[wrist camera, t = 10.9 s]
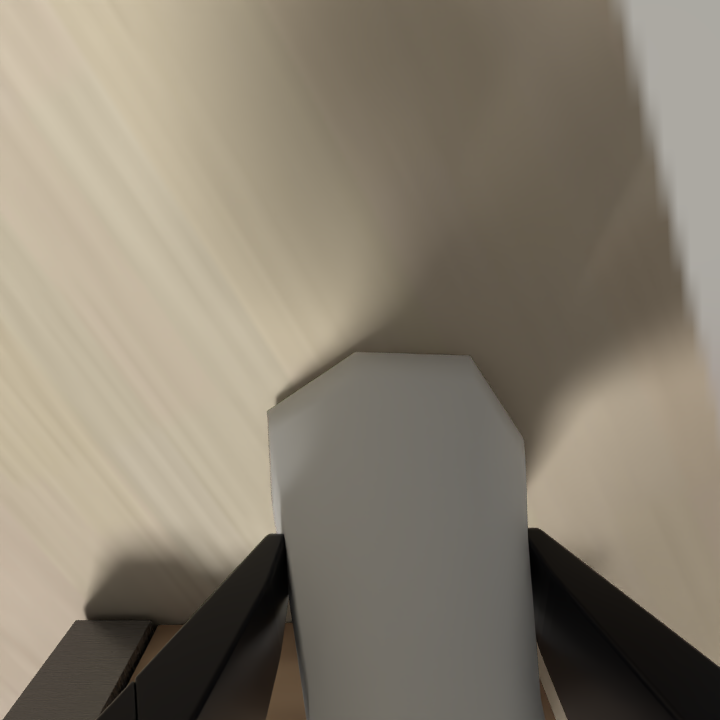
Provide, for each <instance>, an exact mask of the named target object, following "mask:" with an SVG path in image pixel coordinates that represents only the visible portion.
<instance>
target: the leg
mask: <svg viewBox="0 0 720 720" xmlns="http://www.w3.org/2000/svg"><path fill="white" fill-rule="evenodd" d="M153 635H154V632H153V628H152V624H151V621H129V620H76V621H75V622H74V624H73V625H72V626H71V628H70V629H69V630H68V632H67V633H66V634H65V636H64V637H63V639H62V640H61V641H60V643H59V644H58V645H57V647H56V648H55V649H54V651H53V652H52V653H51V655H50V656H49V658H48V659H47V660H46V662H45V663H44V664H43V666H42V667H41V668H40V670H39V671H38V672H37V674H36V675H35V677H34V678H33V679H32V681H31V682H30V683H29V685H28V686H27V687H26V689H25V690H24V691H23V693H22V694H21V696H20V697H19V698H18V700H17V701H16V702H15V704H14V705H13V706H12V708H11V709H10V711H9V712H8V713H7V715H6V716H5V717H4V719H3V720H96V718H97V717H98V716H99V715H100V714H101V713H102V712H103V711H104V710H105V709H106V708H107V707H108V706H109V705H110V704H111V703H112V702H113V701H114V700H115V699H116V697H117V696H118V695H119V694H120V693H121V692H122V691H123V690H124V689H125V688H126V687H127V685H128V683H129V681H130V679H131V677H132V675H133V673H134V671H135V669H136V667H137V665H138V664H139V662H140V660H141V658H142V656H143V654H144V652H145V650H146V648H147V646H148V644H149V642H150V640H151V639H152V637H153Z"/></svg>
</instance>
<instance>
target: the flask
mask: <svg viewBox="0 0 720 720" xmlns="http://www.w3.org/2000/svg"><path fill="white" fill-rule="evenodd" d="M267 417H268V437H269V457H270V477H271V497H272V507H273V514H274V521H275V526H276V532H277V534H281V533H283V534H284V537H285V547H286V563H287V579H288V595H289V602H290V609H291V615H292V622H293V629H294V636H295V643H296V650H297V657H298V664H299V671H300V678H301V685H302V692H303V699H304V706H305V713H306V720H545V716H544V711H543V707H542V702H541V695H540V682H539V670H538V657H537V645H536V632H535V620H534V607H533V595H532V582H531V570H530V557H529V545H528V521H527V489H526V460H525V448H524V438H523V437H522V435H521V434H520V432H519V431H518V429H517V428H516V426H515V424H514V423H513V421H512V420H511V418H510V417H509V415H508V414H507V412H506V411H505V409H504V407H503V406H502V404H501V403H500V401H499V400H498V398H497V397H496V395H495V394H494V392H493V390H492V389H491V387H490V386H489V384H488V383H487V381H486V380H485V378H484V377H483V375H482V374H481V372H480V370H479V369H478V367H477V366H476V364H475V363H474V361H473V360H472V358H471V357H470V356H468V355H438V354H407V353H376V352H354V353H353V354H351V355H350V356H348V357H347V358H345V359H344V360H343V361H341V362H340V363H338V364H337V365H335V366H334V367H332V368H331V369H329V370H328V371H326V372H325V373H323V374H322V375H320V376H319V377H317V378H316V379H314V380H313V381H311V382H310V383H308V384H307V385H305V386H304V387H302V388H301V389H299V390H298V391H296V392H295V393H293V394H292V395H290V396H289V397H287V398H286V399H284V400H283V401H281V402H280V403H278V404H277V405H275V406H274V407H272V408H271V409H269V410H268V411H267Z"/></svg>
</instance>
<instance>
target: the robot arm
mask: <svg viewBox="0 0 720 720" xmlns="http://www.w3.org/2000/svg"><path fill="white" fill-rule="evenodd" d="M528 545H529V557H530V570H531V582H532V595H533V607H534V620H535V632H536V640H537V643H538V646H539V649H540V652H541V655H542V657H543V660H544V663H545V665H546V668H547V670H548V673H549V675H550V678H551V680H552V682H553V685H554V687H555V690H556V692H557V695H558V697H559V700H560V702H561V705H562V707H563V710H564V712H565V714H566V717H567V719H568V720H720V667H719V666H718V665H716V664H715V663H714V662H712V661H711V660H710V659H709V658H707V657H706V656H705V655H703V654H702V653H701V652H699V651H698V650H697V649H696V648H694V647H693V646H692V645H690V644H689V643H688V642H686V641H685V640H684V639H683V638H681V637H680V636H679V635H677V634H676V633H675V632H673V631H672V630H671V629H670V628H668V627H667V626H666V625H664V624H663V623H662V622H660V621H659V620H658V619H657V618H655V617H654V616H653V615H651V614H650V613H649V612H647V611H646V610H645V609H644V608H642V607H641V606H640V605H638V604H637V603H636V602H635V601H633V600H632V599H631V598H629V597H628V596H627V595H625V594H624V593H623V592H622V591H620V590H619V589H618V588H616V587H615V586H614V585H612V584H611V583H610V582H609V581H607V580H606V579H605V578H603V577H602V576H601V575H599V574H598V573H597V572H596V571H594V570H593V569H592V568H590V567H589V566H588V565H586V564H585V563H584V562H583V561H581V560H580V559H579V558H577V557H576V556H575V555H573V554H572V553H571V552H570V551H568V550H567V549H566V548H564V547H563V546H562V545H560V544H559V543H558V542H557V541H555V540H554V539H553V538H551V537H550V536H549V535H548V534H546V533H545V532H544V531H542V530H541V529H539V528H528ZM288 598H289V595H288V579H287V563H286V547H285V537H284V534H283V533H281V534H269V535H267V536H266V537H265V538H264V539H263V540H262V541H261V542H260V543H259V544H258V545H257V546H256V548H255V549H254V550H253V551H252V552H251V553H250V554H249V555H248V556H247V557H246V558H245V559H244V561H243V562H242V563H241V564H240V565H239V566H238V567H237V568H236V569H235V570H234V571H233V572H232V573H231V575H230V576H229V577H228V578H227V579H226V580H225V581H224V582H223V583H222V584H221V585H220V586H219V588H218V589H217V590H216V591H215V592H214V593H213V594H212V595H211V596H210V597H209V598H208V599H207V600H206V602H205V603H204V604H203V605H202V606H201V607H200V608H199V609H198V610H197V611H196V612H195V613H194V615H193V616H192V617H191V618H190V619H189V620H188V621H187V622H186V623H185V624H184V625H183V626H182V627H181V629H180V630H179V631H178V632H177V633H176V634H175V635H174V636H173V637H172V638H171V639H170V640H169V642H168V643H167V644H166V645H165V646H164V647H163V648H162V649H161V650H160V651H159V652H158V653H157V654H156V656H155V657H154V658H153V659H152V660H151V661H150V662H149V663H148V664H147V665H146V666H145V667H144V669H143V670H142V671H141V672H140V673H139V674H138V675H137V676H136V678H135V682H134V681H132V682H130V683H129V684H128V686H127V687H126V688H125V689H124V690H123V691H122V692H121V693H120V694H119V695H118V696H117V697H116V699H115V700H114V701H113V702H112V703H111V704H110V705H109V706H108V707H107V708H106V709H105V710H104V711H103V712H102V713H101V714H100V715H99V716H98V717H97V718H96V720H266V717H267V713H268V708H269V704H270V700H271V696H272V691H273V687H274V683H275V678H276V674H277V670H278V665H279V661H280V656H281V650H282V643H283V636H284V629H285V621H286V613H287V606H288Z"/></svg>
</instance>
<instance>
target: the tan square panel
mask: <svg viewBox="0 0 720 720" xmlns="http://www.w3.org/2000/svg"><path fill="white" fill-rule="evenodd" d="M182 626H183V625H158V627H157V629H156V631H155V633H154V635H153V637H152V639H151V640H150V642H149V644H148V646H147V648H146V650H145V652H144V654H143V656H142V658H141V660H140V662H139V664H138V665H137V667H136V669H135V671H134V673H133V675H132V677H131V679H130V681H129V683H130V682H132V681H134V682H135V678H136V676H137V675H138V674H139V673H140V672H141V671H142V670H143V669H144V667H145V666H146V665H147V664H148V663H149V662H150V661H151V660H152V659H153V658H154V657H155V656H156V654H157V653H158V652H159V651H160V650H161V649H162V648H163V647H164V646H165V645H166V644H167V643H168V642H169V640H170V639H171V638H172V637H173V636H174V635H175V634H176V633H177V632H178V631H179V630H180V629H181V627H182ZM539 682H540V695H541V702H542V707H543V711H544V716H545V720H556V719H555V716H554V714H553V711H552V709H551V706H550V704H549V701H548V698H547V696H546V693H545V691H544V688H543V685H542V683H541V680H540V678H539ZM129 683H128V684H129ZM127 686H128V685H127ZM266 720H306V713H305V706H304V699H303V692H302V685H301V678H300V671H299V664H298V657H297V650H296V643H295V636H294V629H293V623H285V629H284V636H283V643H282V650H281V656H280V661H279V665H278V670H277V674H276V678H275V683H274V687H273V691H272V696H271V700H270V704H269V708H268V713H267V717H266Z"/></svg>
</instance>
